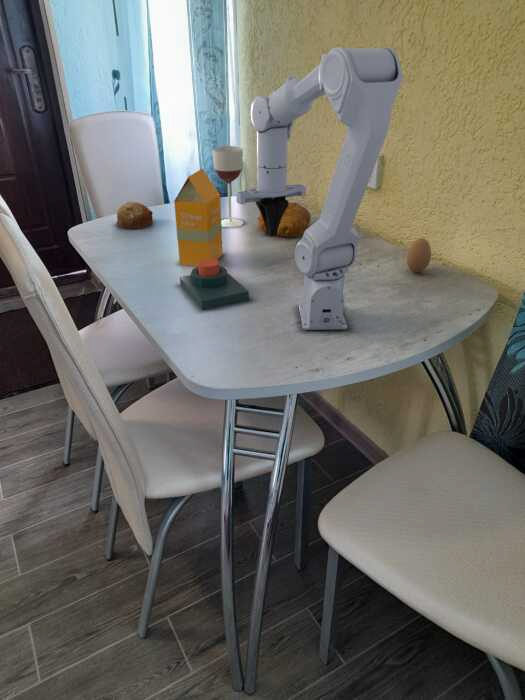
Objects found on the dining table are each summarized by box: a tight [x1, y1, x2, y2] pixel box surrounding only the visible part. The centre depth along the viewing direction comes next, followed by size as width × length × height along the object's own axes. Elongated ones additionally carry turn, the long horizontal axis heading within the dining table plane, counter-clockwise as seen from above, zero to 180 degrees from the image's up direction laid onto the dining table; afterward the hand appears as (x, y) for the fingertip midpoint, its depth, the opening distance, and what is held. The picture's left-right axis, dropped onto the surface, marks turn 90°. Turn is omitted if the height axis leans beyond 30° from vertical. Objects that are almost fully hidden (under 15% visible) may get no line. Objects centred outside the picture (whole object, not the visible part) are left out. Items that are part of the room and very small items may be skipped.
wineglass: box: [212, 145, 244, 228], centre depth 139 cm, size 8×9×20 cm
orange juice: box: [173, 168, 224, 267], centre depth 115 cm, size 8×9×20 cm
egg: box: [405, 237, 432, 274], centre depth 112 cm, size 5×5×8 cm
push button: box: [197, 259, 221, 276], centre depth 103 cm, size 4×4×2 cm
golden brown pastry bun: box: [257, 201, 312, 238], centre depth 138 cm, size 14×16×8 cm
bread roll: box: [116, 201, 154, 230], centre depth 142 cm, size 10×10×8 cm
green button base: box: [179, 265, 250, 311], centre depth 103 cm, size 13×10×4 cm
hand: (271, 234), depth 104 cm, fingers closed
